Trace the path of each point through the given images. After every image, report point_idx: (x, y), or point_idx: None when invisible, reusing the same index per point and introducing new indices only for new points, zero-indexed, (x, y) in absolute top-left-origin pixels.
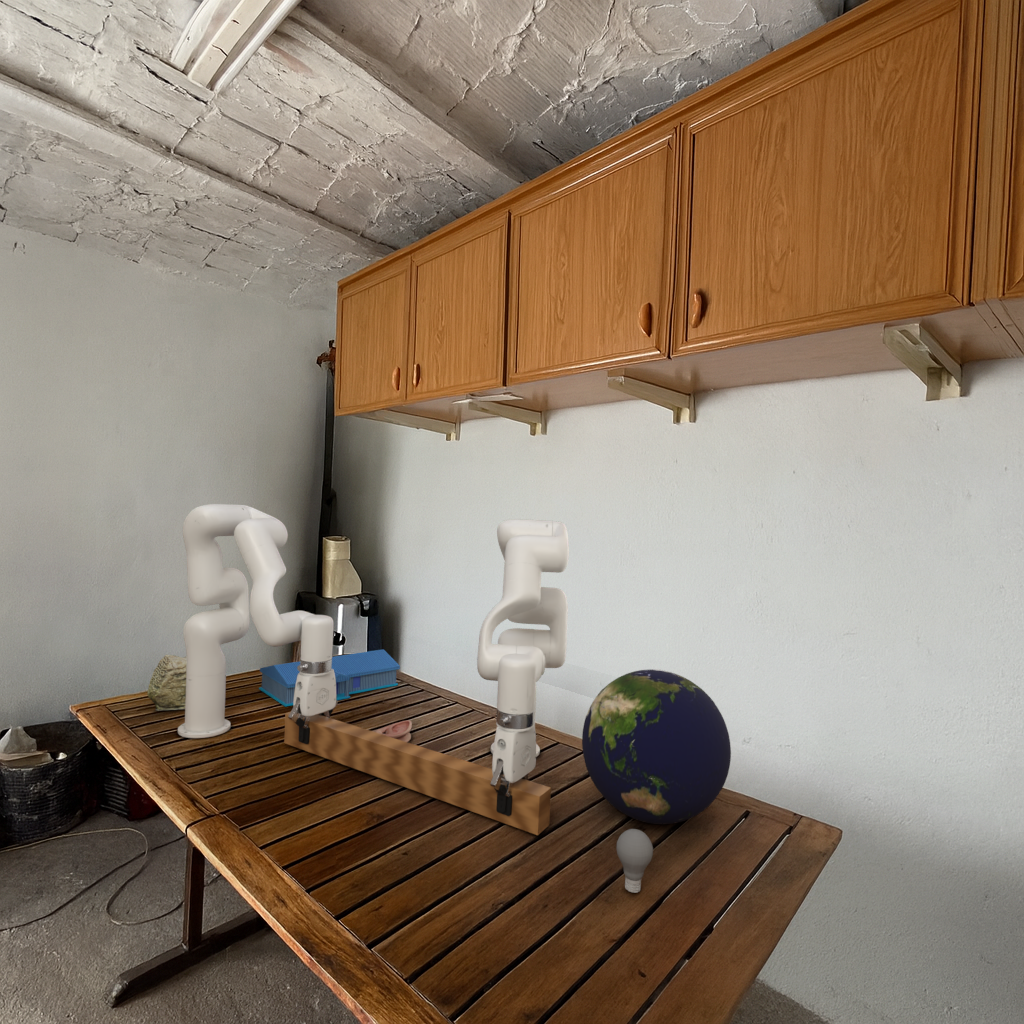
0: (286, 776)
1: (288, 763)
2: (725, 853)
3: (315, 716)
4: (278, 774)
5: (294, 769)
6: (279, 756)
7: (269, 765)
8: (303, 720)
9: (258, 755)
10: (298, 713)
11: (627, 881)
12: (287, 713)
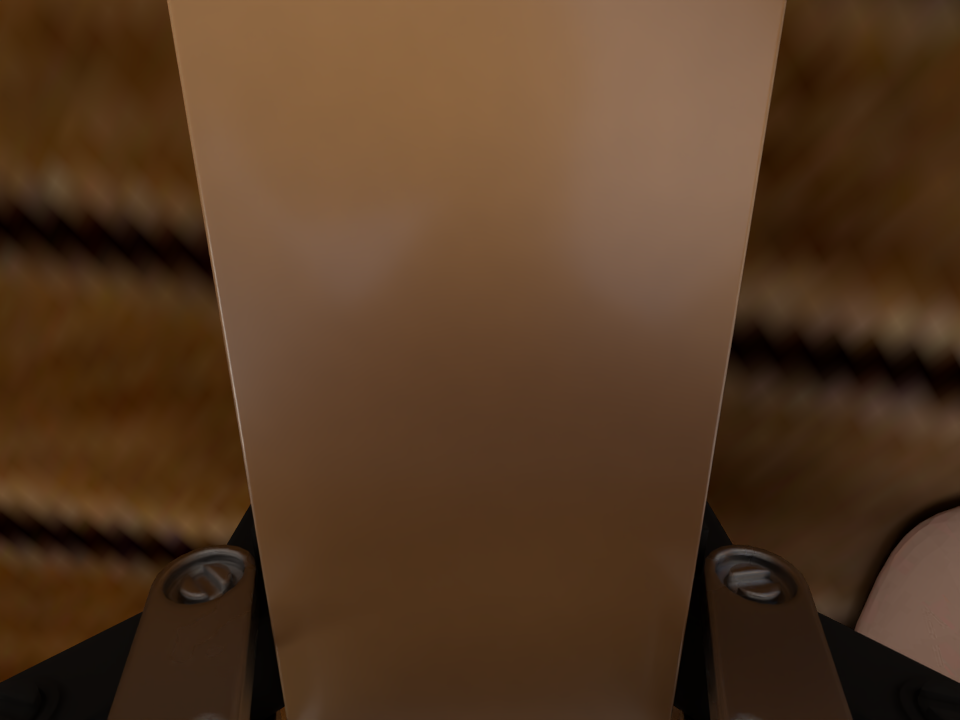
0: (47, 590)
1: (179, 428)
2: None
3: (548, 696)
4: (11, 526)
5: (156, 547)
6: (199, 237)
7: (23, 336)
8: (280, 640)
9: (32, 19)
10: (436, 303)
11: None
12: (215, 38)
